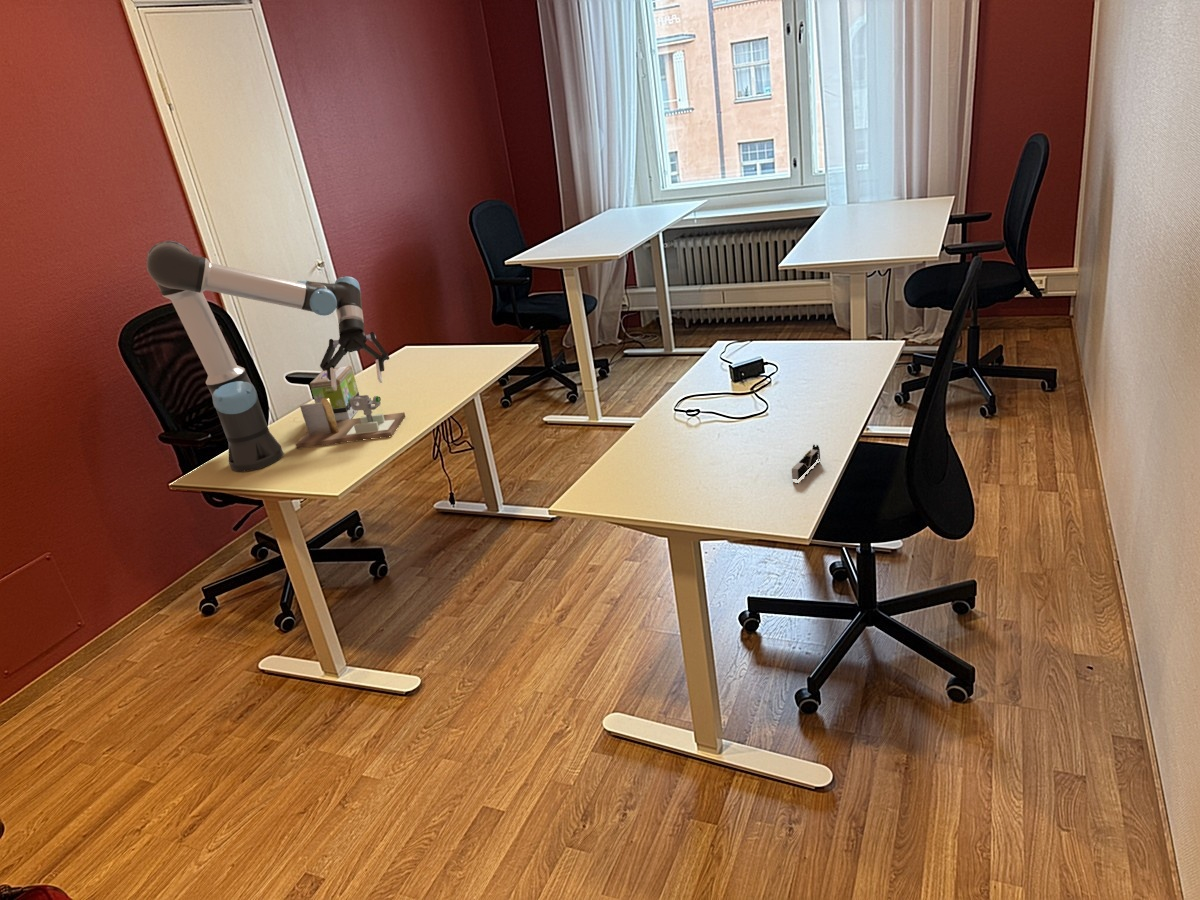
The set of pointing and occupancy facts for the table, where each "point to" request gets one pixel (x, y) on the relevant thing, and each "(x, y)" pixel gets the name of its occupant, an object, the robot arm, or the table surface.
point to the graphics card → (806, 462)
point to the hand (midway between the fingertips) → (357, 384)
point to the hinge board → (343, 426)
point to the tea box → (340, 397)
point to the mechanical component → (365, 404)
